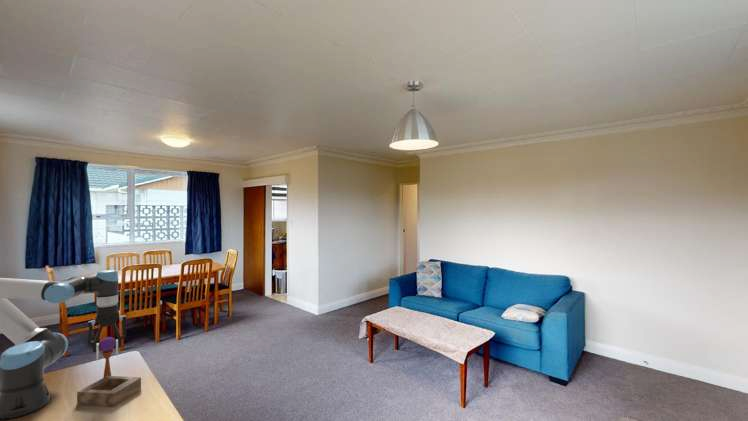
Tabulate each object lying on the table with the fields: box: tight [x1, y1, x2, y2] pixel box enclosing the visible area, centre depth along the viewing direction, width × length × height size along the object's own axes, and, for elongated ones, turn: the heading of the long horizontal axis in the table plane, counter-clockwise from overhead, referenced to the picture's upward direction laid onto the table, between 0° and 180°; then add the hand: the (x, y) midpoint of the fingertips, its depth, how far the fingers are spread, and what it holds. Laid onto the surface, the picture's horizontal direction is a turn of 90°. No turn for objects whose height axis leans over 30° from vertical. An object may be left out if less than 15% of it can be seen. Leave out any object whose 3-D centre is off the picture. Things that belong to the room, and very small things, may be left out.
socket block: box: [76, 375, 142, 407], centre depth 135 cm, size 16×13×5 cm
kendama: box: [98, 336, 117, 378], centre depth 147 cm, size 6×6×20 cm
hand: (107, 356), depth 147 cm, fingers open, 6 cm apart
